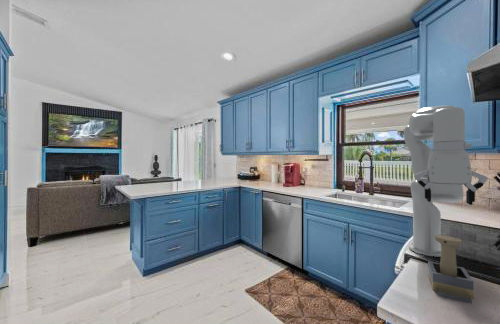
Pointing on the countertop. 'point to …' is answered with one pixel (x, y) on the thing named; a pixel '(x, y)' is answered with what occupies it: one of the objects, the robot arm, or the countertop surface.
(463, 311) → the countertop surface
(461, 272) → the open grey tray
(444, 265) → the handle
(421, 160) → the robot arm
